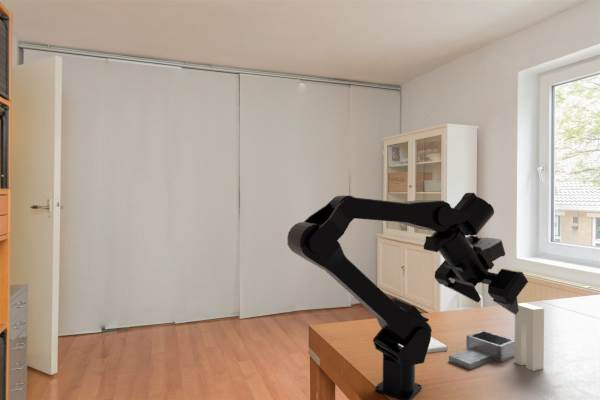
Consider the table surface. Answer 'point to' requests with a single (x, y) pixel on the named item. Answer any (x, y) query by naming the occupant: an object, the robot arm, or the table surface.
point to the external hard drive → (435, 346)
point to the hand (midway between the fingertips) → (496, 306)
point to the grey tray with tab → (484, 350)
